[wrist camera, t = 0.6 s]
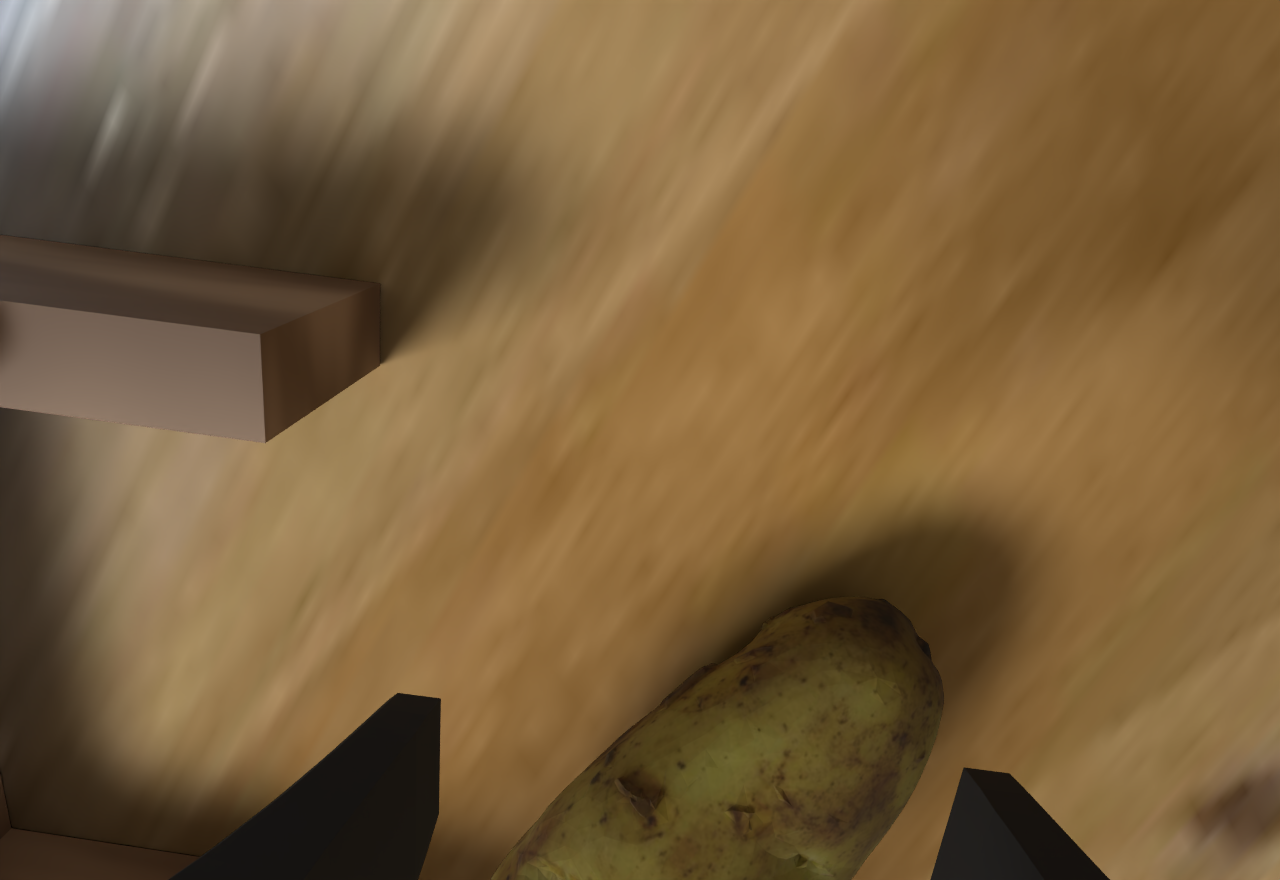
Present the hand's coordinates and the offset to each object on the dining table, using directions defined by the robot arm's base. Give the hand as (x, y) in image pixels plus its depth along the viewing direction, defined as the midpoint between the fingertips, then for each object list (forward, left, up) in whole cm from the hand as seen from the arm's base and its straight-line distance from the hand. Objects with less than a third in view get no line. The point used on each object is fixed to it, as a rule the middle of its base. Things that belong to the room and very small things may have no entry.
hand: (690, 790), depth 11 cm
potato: (-7, -1, -10) cm, 12 cm away
